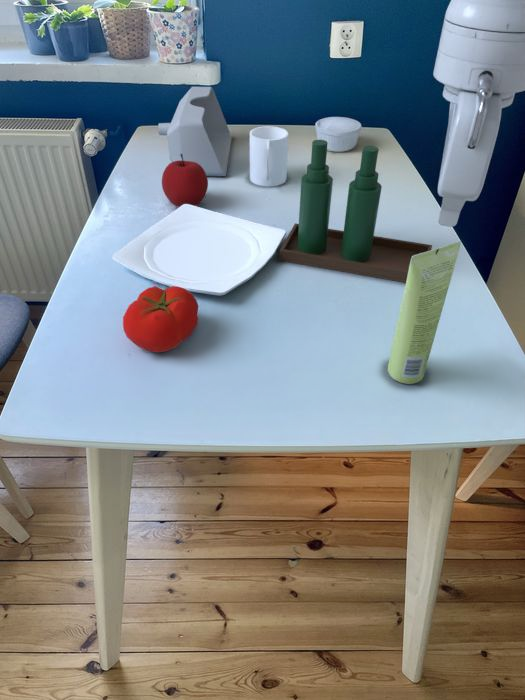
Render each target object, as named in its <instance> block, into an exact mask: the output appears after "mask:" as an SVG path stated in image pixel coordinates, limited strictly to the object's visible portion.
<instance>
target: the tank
mask: <svg viewBox="0 0 525 700" xmlns="http://www.w3.org/2000/svg"><path fill="white" fill-rule="evenodd" d="M157 130H158V131H157V132H158V135H159V136H166V138H167V147H168V155H169V160H170V162H171V163H172V162H174V161H182V158H181V155H180V154H182V156H183V161H191V162H196V163H198V164H199V165H201V167H202V168H203V169H204V171H205V173H206V176H207V177H226V176H227V170H228V164H229V158H230V151H231V145H232V135H231V132H230V129H229V126H228V124H227V122H226V119H225V117H224V113H223V111H222V108H221V106H220V103H219V100H218V98H217V96H216V93H215V90H214V89H213V87H212V86H191V87H190V89H189V90H188V91H187V92H186V93H185V94H184V96H183V97H182V98H181V99H180V100H179V102H178V105H177V107H176V109H175V112H174V114H173V117H172V119H171V121H170V122H158V126H157Z"/></svg>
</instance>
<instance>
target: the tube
mask: <svg viewBox="0 0 525 700" xmlns="http://www.w3.org/2000/svg"><path fill="white" fill-rule="evenodd" d="M461 243H462V241H461V240H457V241H455V242H452V243H450V244H446V245H443V246H440V247H437V248H434V249H433V248H432V249H431V250H430V251H427V252H424V253H420V254H417V255H414V256H412V258H411V261H410V266H409V271H408V276H407V281H406V283H405V285H404V291H403V296H402V300H401V305H400V308H399V313H398V319H397V322H396V328H395V333H394V336H393V342H392V346H391V350H390V356H389V359H388V365H387V373H388V375H389V376H390V377H391V378H392V379H393V380H394V381H396V382H398V383H401V384H407V385H413V384H417V383H419V382H421V381H422V380H423V378H424V377H425V373H426V369H427V366H428V363H429V359H430V355H431V353H432V352H431V351H432V349H433V344H434V341H435V337H436V333H437V329H438V326H439V323H440V320H441V317H442V312H443V308H444V306H445V302H446V298H447V294H448V291H449V288H450V284H451V280H452V277H453V273H454V270H455V267H456V263H457V259H458V256H459V251H460V247H461Z"/></svg>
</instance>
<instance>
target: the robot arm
mask: <svg viewBox="0 0 525 700" xmlns="http://www.w3.org/2000/svg"><path fill="white" fill-rule="evenodd" d="M441 28H442V29H441V33H440V38H439V43H438V49H437V51H436V52H437V53H436V58H435V63H434V66H433V67H434V68H433V73H432V75H433V77H434V79H435V80H436V81H438V82H439V83H441V84H443V85H444V87H443V89H442V90H443V91H442V98H444V99H445V100H446V101H447V102H450V103H449V112H448V124H447V129H446V135H445V141H444V146H443V153H442V159H441V165H440V170H439V176H438V183H437V194H438V196H439V197H442V202H441V206H440V210H439V215H438V220H437V222H438V224H439V225H440V226H443V227H449V228H453V227H455V226H457V224H458V221H459V218H460V215H461V211H462V209H463V207H464V205H465V203H466V202H474V201H476V200H478V198H479V197H480V194H481V192H482V190H483V188H484V184H485V180H486V177H487V174H488V170H489V166H490V163H491V159H492V156H493V153H494V149H495V146H496V142H497V137H498V133H499V130H500V123H501V119H502V109H504V108H508V107H509V106H511V105H512V104H513V102H514V100H515V99H514V98H515V94H517V93H520V92H524V91H525V0H450V2H449V4H448V5H447V9H446V11H445V14H444V19H443V24H442V27H441Z"/></svg>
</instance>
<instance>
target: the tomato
mask: <svg viewBox="0 0 525 700" xmlns="http://www.w3.org/2000/svg"><path fill="white" fill-rule="evenodd" d="M198 313H199V304H198V301H197V299H196V297H195V296H194V295H193V294H192V292H191V291H187V290H186V289H184V288H181V287H177V286H172V287H171V286H169V287H168V288H165V289H163V288H161V287H158V286H157V285H154V286H151V287H148V288H146V289H145V290H142V292H140V293H139V294H138V297H137V298H136V299H135V300H134V301H133V302H132V303H130V304H129V305H128V307H127V309H126V310H125V313H124V315H123V316H122V328H123V332H124V334H125V336H126V338H127V339H128V340H130V342H131V343H132V344H134V345H135V346H136V347H138V348H140V349H143V350H145V351H147V352H153V353H163V352H169V351H171V350H173V349H175V348H177V347H178V346H179V345H180V343H182V342H183V341H185V340H187V339H188V338H189V337H190V336H191V335H192V334H193V332H194V331H195V329H196V327H197V326H198V325H199V324H198V323H199V316H198Z"/></svg>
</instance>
